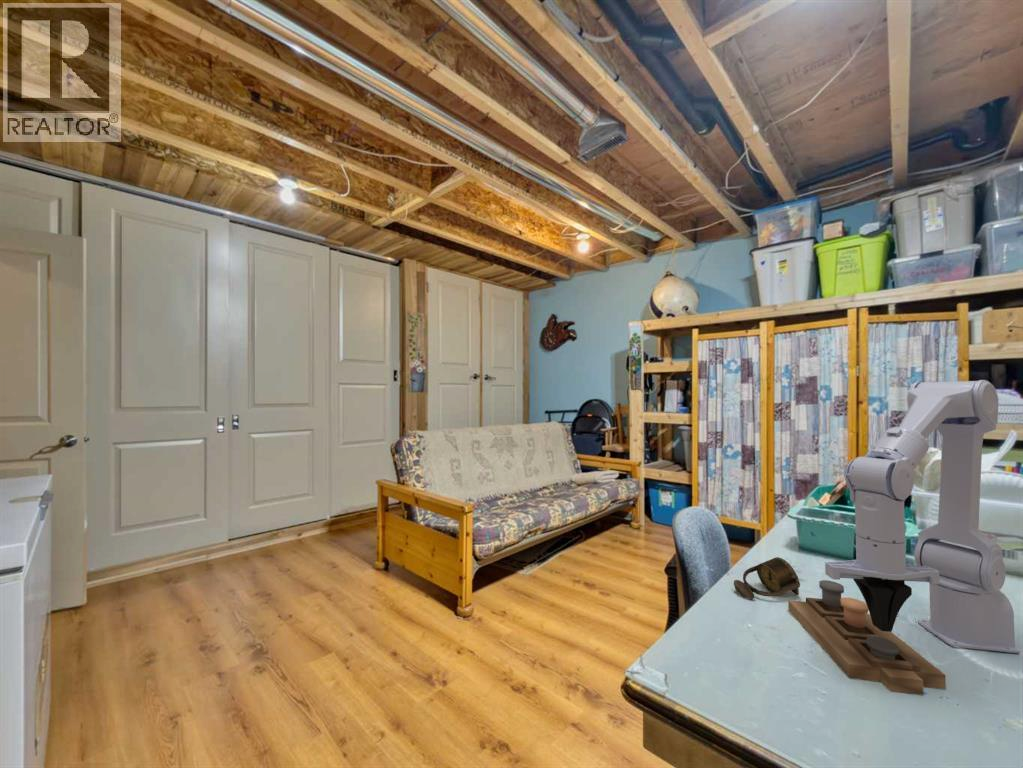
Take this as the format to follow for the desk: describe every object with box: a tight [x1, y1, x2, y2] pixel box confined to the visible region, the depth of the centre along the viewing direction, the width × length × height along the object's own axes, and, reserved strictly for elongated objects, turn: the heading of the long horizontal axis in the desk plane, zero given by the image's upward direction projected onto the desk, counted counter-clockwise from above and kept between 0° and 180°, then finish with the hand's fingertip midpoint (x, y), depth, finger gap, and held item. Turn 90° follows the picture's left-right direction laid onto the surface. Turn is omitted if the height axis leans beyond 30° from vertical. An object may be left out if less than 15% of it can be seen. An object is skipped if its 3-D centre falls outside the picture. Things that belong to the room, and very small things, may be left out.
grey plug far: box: [818, 579, 845, 607], centre depth 78 cm, size 4×4×3 cm
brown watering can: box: [733, 556, 801, 600], centre depth 89 cm, size 7×13×10 cm
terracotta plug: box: [841, 597, 869, 628], centre depth 71 cm, size 4×4×3 cm
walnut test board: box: [787, 597, 947, 696], centre depth 71 cm, size 12×24×3 cm, turn 169°
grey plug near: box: [867, 636, 898, 660], centre depth 64 cm, size 4×4×3 cm
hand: (882, 628), depth 64 cm, fingers closed
